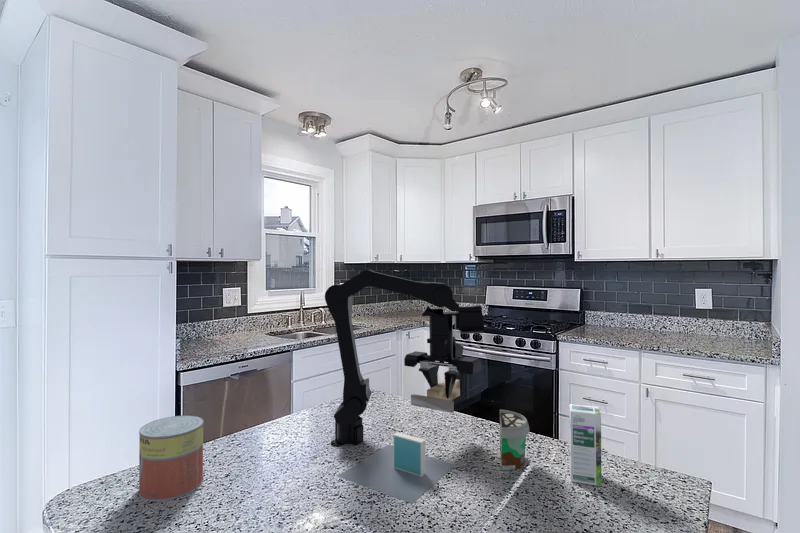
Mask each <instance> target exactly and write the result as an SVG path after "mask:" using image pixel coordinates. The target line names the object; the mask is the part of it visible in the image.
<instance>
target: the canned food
mask: <svg viewBox="0 0 800 533" xmlns="http://www.w3.org/2000/svg"><path fill="white" fill-rule="evenodd" d="M204 423H205V422H204V419H203V418H202V417H200V416H198V415H197V416H196V415H187V414H186V415H173V416H168V417H164V418H158V419H156V420H152V421H150V422H148V423H145V425H142V426H141V427H140V428H139V430H138V434H139V441H138V442H139V447H138V448H139V449H138V450H139V453H138V454H139V456H138V457H139V464H138V465H139V470H138V475H139V476H138V479H139V481H138V485H139V486H138V496H139V498H141V499H142V500H144V501H148V502H164V501H165V502H166V501H170V500H174V499H177V498H178V499H179V498H182V497H184V496H186V495H189V494H190V493H193V492H194V491H196V490H197V489H198V488H200V486H201V485H203V481H204V472H203V471H204V470H203V469H204Z"/></svg>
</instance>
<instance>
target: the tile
mask: <svg viewBox="0 0 800 533" xmlns="http://www.w3.org/2000/svg"><path fill="white" fill-rule="evenodd" d="M393 446H394V468H396V469H399V470H402V471H405V472H409V473H412V474H415V475H418V476H421V477H422V476H423V475H425V456H426V439H423V438H420V437H416V436H412V435H409V434H406V433H405V434H404V433H401V432H396V433H394V434H393Z"/></svg>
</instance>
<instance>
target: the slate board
mask: <svg viewBox="0 0 800 533" xmlns="http://www.w3.org/2000/svg"><path fill="white" fill-rule="evenodd" d="M456 465H457V464H456V463H453V462H449V461H445V460H442V459H439V458H436V457H432V456H428V455H425V475H423V476H422V477H421V476H418V475H415V474H412V473H409V472H405V471H402V470H399V469H396V468H394V445H391V444H388V445H385V446H384V447H383V448H381V449H379V450H378V451H376V452H374V453H372V454H371V455H370V456H368V457H366V458H365V459H363V460H361V461H359V462H358V463H356V464H354V465H353V466H351V467H350V468H348V469H347V470H345V471H343V472H341V473H340V474H338V475H337V477H340V478H342V479H344V480H347V481H350V482H352V483H355V484H358V485H360V486H363V487H365V488H369V489H371V490H373V491H377V492H379V493H382V494H385V495H388V496H390V497H392V498H396V499H398V500H400V501H402V502H403V501H404V502H406V503H409V504H411V505H413V504H414V503H415V502H417V501H418V500H419V499H420V498H421V497H422V496H423V495H424V494H425V493H427V491H429V490H431V488H432V487H433V486H434V485H435V484H436V483H438V481H440V480H441V479H442V478H443V477H445V475H447V473H449V472H450V471H451V470H452V469H453V468H454V467H455V466H456Z"/></svg>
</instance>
